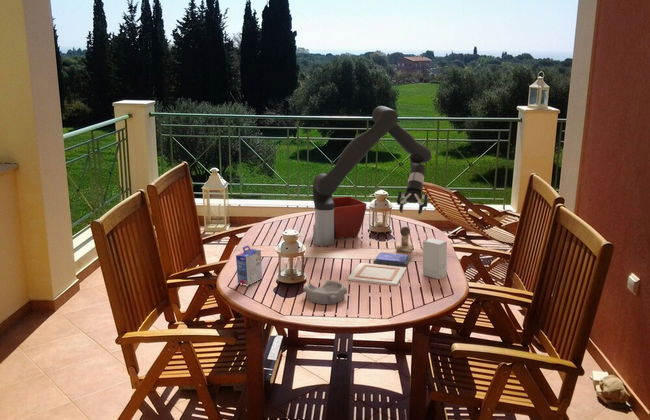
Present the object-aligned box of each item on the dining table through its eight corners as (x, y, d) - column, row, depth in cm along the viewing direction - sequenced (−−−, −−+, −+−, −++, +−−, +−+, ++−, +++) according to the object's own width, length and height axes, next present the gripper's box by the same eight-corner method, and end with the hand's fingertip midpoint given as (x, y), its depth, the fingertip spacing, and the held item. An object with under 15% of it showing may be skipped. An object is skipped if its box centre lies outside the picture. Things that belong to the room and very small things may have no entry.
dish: (299, 298, 233) (298, 285, 232) (325, 289, 242) (325, 276, 241) (326, 309, 223) (326, 296, 222) (353, 299, 232) (353, 286, 231)
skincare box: (446, 276, 256) (448, 241, 252) (437, 280, 252) (439, 244, 248) (430, 271, 261) (431, 237, 258) (421, 274, 257) (422, 239, 254)
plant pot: (315, 232, 318) (315, 199, 314) (349, 227, 326) (349, 196, 322) (331, 242, 302) (331, 207, 298) (367, 237, 309) (367, 204, 305)
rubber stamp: (396, 251, 288) (396, 227, 285) (399, 247, 294) (399, 224, 291) (410, 252, 286) (411, 229, 283) (412, 248, 292) (413, 225, 289)
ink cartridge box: (251, 277, 255) (250, 242, 251) (262, 279, 252) (262, 244, 249) (236, 284, 247) (235, 249, 243) (247, 287, 244) (246, 251, 240)
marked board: (347, 280, 251) (347, 277, 251) (360, 264, 270) (360, 262, 270) (396, 285, 245) (396, 283, 245) (406, 269, 264) (406, 266, 264)
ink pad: (373, 263, 272) (373, 259, 271) (379, 255, 282) (379, 251, 281) (405, 266, 267) (406, 262, 267) (410, 258, 277) (410, 254, 277)
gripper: (399, 178, 303) (394, 207, 295) (429, 180, 299) (424, 209, 291) (401, 187, 309) (396, 215, 302) (430, 189, 305) (426, 217, 297)
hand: (410, 212), depth 296 cm, fingers open, 8 cm apart
